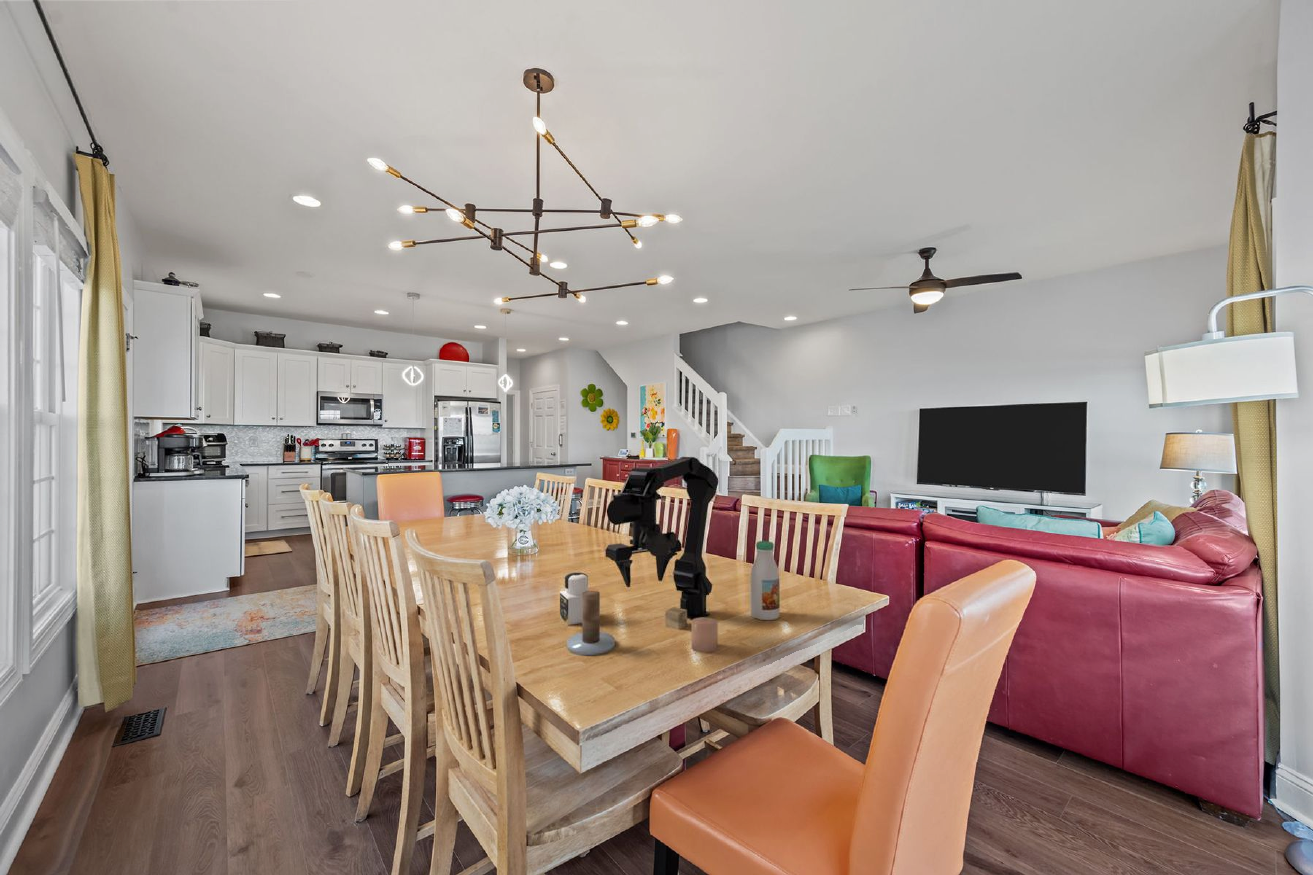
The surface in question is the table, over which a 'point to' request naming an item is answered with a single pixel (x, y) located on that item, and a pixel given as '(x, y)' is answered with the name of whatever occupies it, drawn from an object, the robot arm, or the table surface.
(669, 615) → the oak block
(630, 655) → the table surface
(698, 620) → the short mauve cylinder
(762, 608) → the milk bottle
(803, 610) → the table surface
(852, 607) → the table surface
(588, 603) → the brown cylinder
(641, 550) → the robot arm
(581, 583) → the medicine bottle
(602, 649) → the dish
